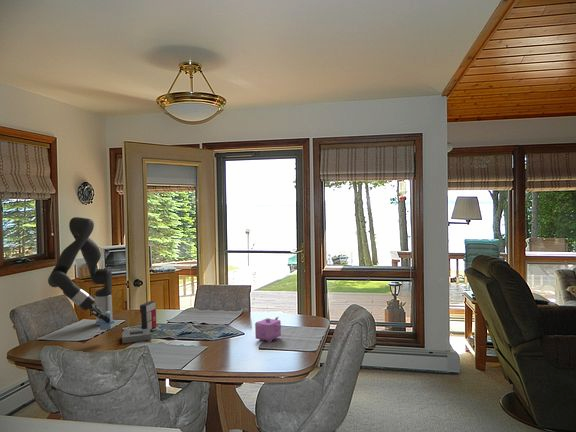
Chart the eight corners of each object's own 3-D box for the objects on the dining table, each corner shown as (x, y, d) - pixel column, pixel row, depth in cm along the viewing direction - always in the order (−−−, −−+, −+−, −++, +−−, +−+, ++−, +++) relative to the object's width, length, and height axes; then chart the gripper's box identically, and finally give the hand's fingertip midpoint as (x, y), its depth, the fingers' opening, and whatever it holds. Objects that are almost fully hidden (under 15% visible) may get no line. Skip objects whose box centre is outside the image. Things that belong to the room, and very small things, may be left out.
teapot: (283, 343, 224) (283, 321, 223) (257, 345, 221) (256, 323, 221) (279, 334, 239) (278, 314, 238) (254, 336, 236) (253, 316, 236)
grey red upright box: (147, 332, 250) (146, 305, 249) (140, 331, 251) (139, 305, 250) (157, 326, 260) (156, 301, 260) (150, 326, 261) (149, 301, 261)
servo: (96, 328, 234) (95, 311, 233) (115, 326, 237) (114, 310, 236) (96, 330, 230) (95, 313, 230) (114, 328, 233) (114, 311, 232)
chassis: (122, 337, 242) (122, 331, 241) (149, 333, 246) (149, 328, 246) (122, 343, 230) (122, 337, 230) (150, 339, 235) (150, 334, 235)
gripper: (87, 296, 223) (114, 318, 228) (89, 291, 237) (115, 311, 241) (76, 308, 222) (103, 329, 226) (79, 302, 235) (105, 322, 240)
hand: (109, 320), depth 234 cm, fingers closed on servo, 4 cm apart
